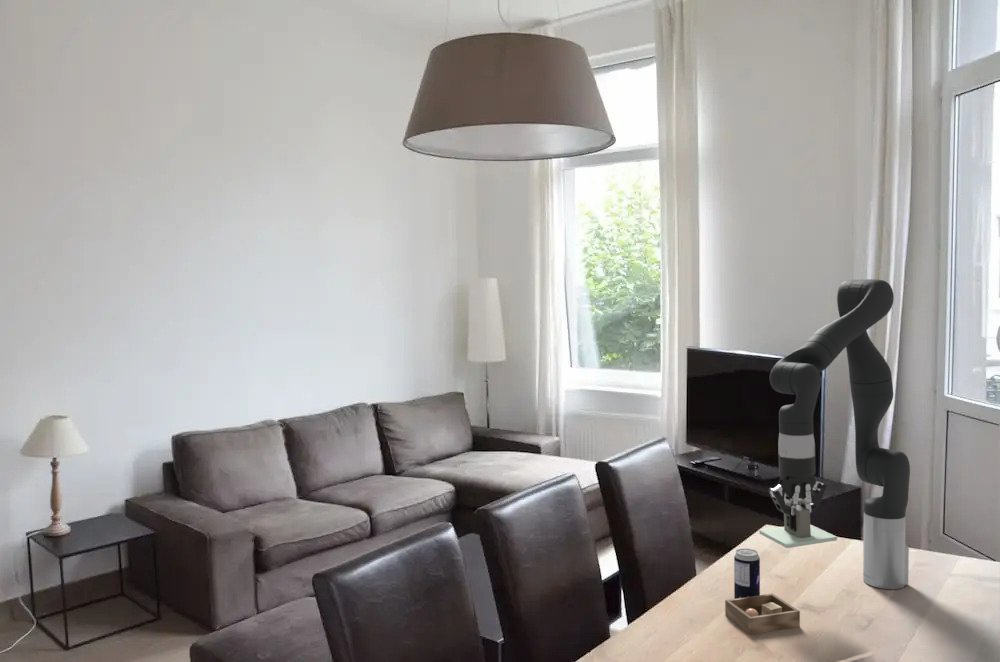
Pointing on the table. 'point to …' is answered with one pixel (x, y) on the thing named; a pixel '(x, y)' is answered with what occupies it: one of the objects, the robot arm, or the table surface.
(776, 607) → the maple cube
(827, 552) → the table surface
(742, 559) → the beverage can
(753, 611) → the terracotta ball
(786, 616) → the box
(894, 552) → the robot arm
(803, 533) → the lid
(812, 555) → the table surface
